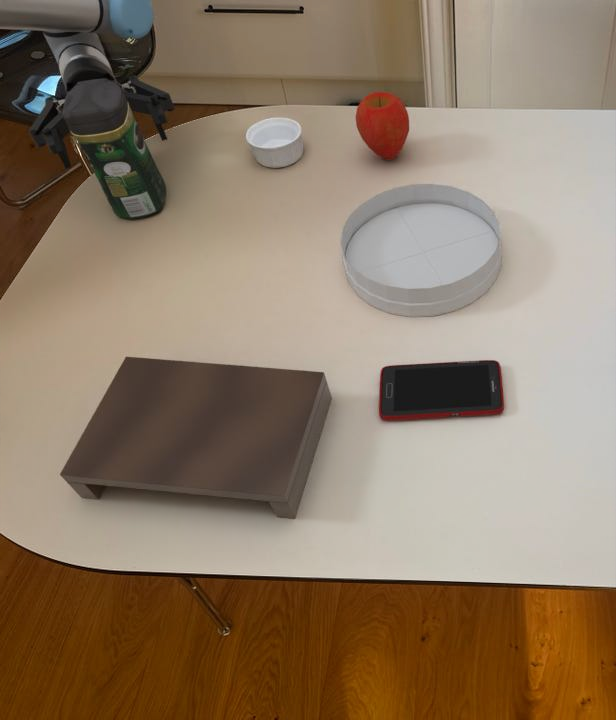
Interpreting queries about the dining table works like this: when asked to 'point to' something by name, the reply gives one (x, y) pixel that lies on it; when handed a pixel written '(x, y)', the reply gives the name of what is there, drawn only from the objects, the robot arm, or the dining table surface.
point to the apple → (383, 123)
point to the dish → (422, 249)
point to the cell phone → (440, 390)
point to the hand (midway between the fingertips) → (113, 145)
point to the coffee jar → (114, 148)
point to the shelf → (203, 432)
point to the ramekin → (275, 142)
